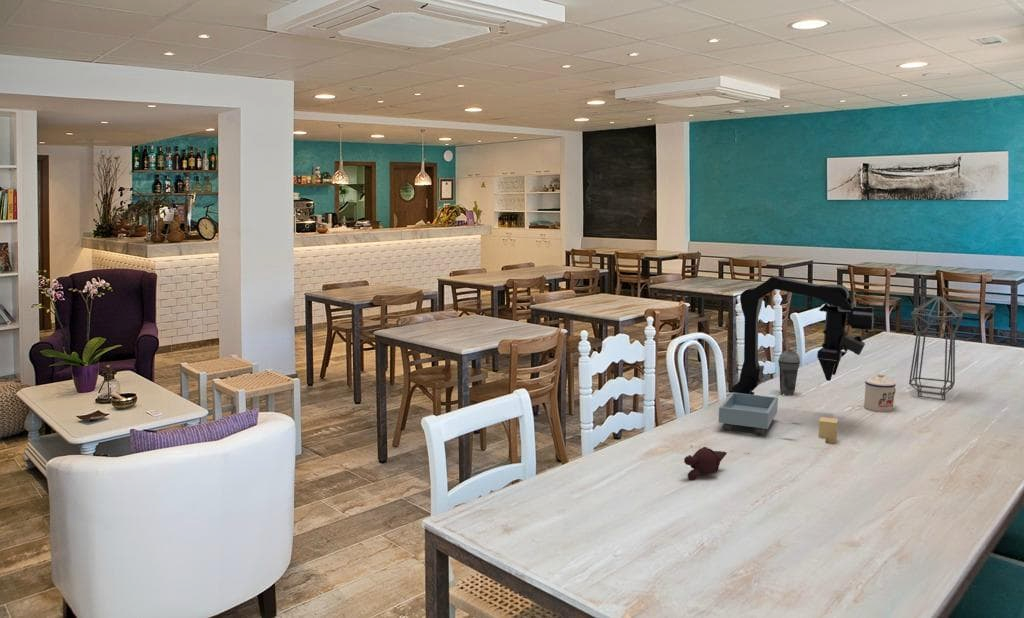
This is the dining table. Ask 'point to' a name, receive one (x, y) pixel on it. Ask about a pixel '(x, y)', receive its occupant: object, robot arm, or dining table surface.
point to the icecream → (704, 462)
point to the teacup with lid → (879, 393)
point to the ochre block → (828, 429)
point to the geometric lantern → (951, 349)
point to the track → (770, 436)
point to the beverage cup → (788, 371)
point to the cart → (748, 411)
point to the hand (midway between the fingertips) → (830, 377)
